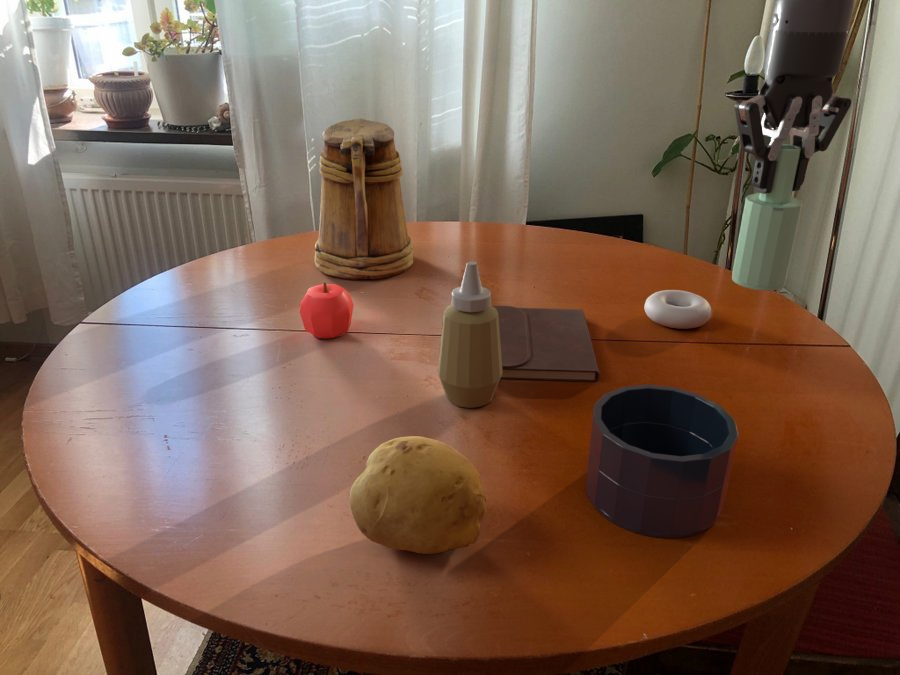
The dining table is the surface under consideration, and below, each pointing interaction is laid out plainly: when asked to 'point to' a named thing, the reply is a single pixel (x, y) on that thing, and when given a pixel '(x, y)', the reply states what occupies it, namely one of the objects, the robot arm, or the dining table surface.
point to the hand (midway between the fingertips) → (776, 190)
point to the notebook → (546, 344)
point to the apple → (326, 310)
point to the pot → (660, 460)
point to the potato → (418, 497)
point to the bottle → (769, 229)
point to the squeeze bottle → (470, 344)
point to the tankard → (361, 203)
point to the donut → (677, 309)
